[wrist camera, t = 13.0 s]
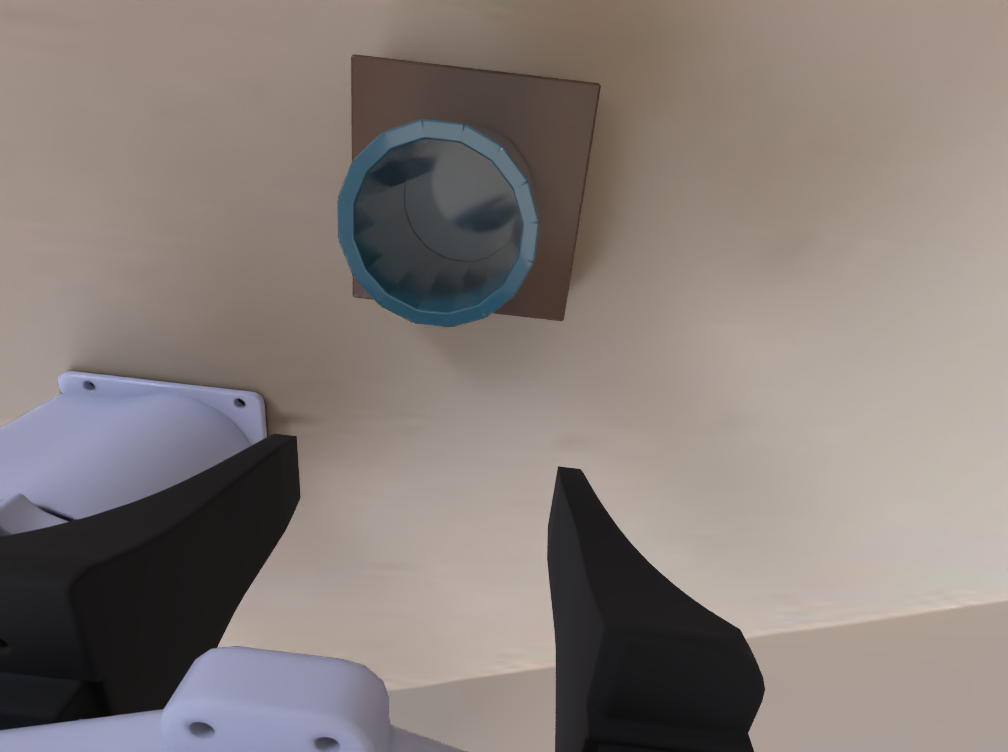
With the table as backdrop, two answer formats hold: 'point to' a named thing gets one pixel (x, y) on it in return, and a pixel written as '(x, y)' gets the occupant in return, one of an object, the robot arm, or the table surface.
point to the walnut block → (518, 117)
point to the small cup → (439, 221)
